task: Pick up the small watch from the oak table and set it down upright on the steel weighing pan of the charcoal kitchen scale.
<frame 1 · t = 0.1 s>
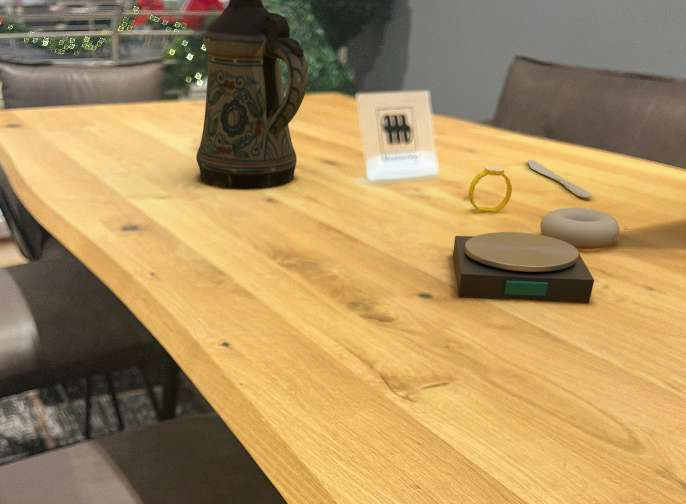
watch: (487, 212, 112), on the table
donut: (576, 242, 101), on the table
butter knife: (554, 179, 129), on the table
scale pan: (520, 250, 87), point 3 cm above the table, slide at 0.0 cm
beer stein: (255, 179, 127), on the table
scale: (516, 278, 88), on the table
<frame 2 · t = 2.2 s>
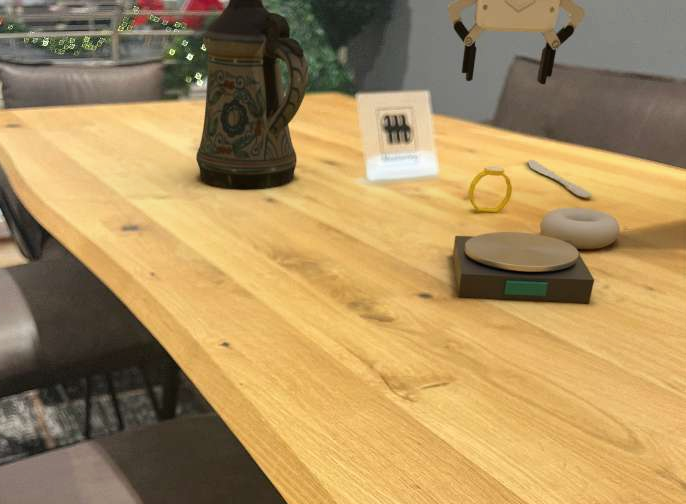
hand: (504, 81, 102), 17 cm above the table, tool pointing down, fingers open, 9 cm apart
nothing on the table moved.
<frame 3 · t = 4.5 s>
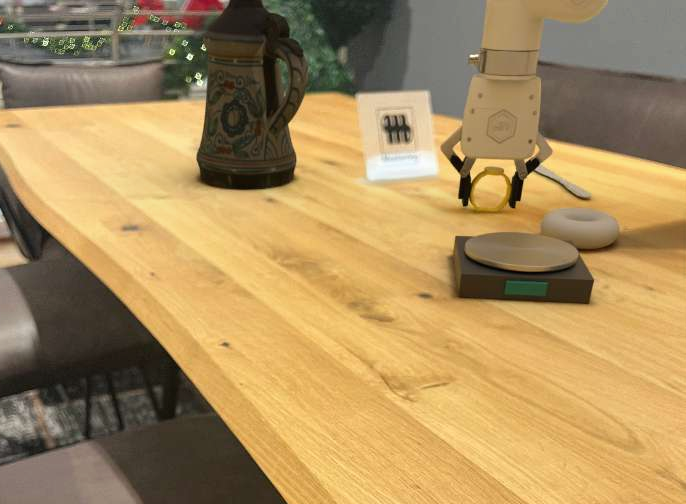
hand: (488, 204, 112), 1 cm above the table, tool pointing down, fingers closed on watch, 6 cm apart
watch: (487, 212, 112), on the table, touching gripper
everything else where it was.
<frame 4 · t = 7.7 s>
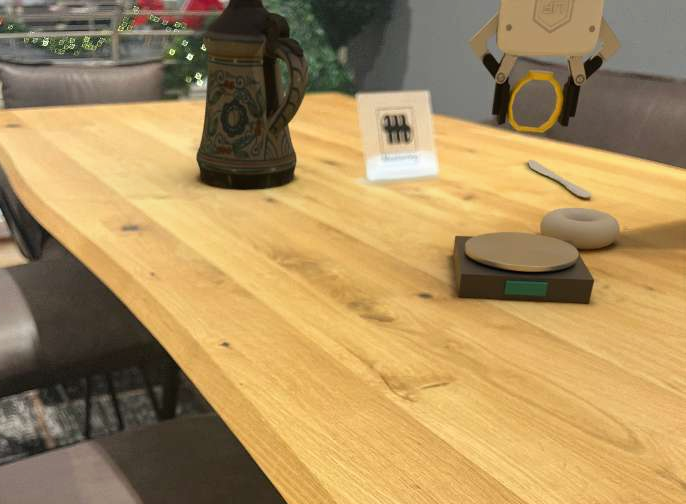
hand: (531, 121, 85), 15 cm above the table, tool pointing down, fingers closed on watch, 6 cm apart
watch: (529, 133, 86), point 14 cm above the table, touching gripper
everything else where it was.
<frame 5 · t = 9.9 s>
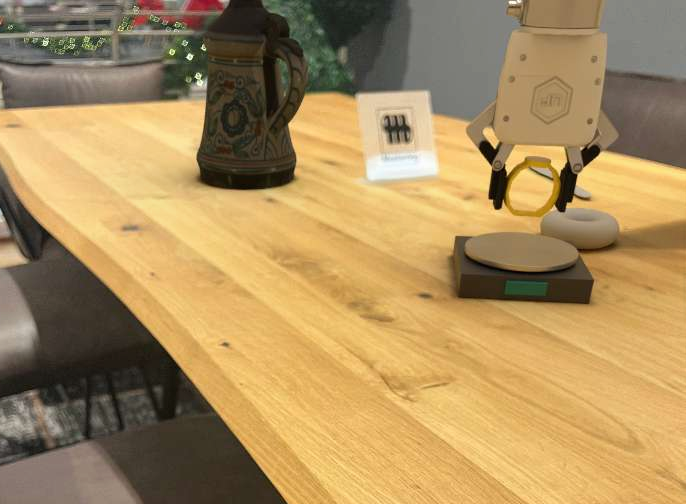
hand: (528, 206, 84), 8 cm above the table, tool pointing down, fingers closed on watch, 6 cm apart
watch: (526, 217, 85), point 7 cm above the table, touching gripper
everything else where it was.
when the fingers open (5 cm above the table, at t = 11.2 s): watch stays where it is, resting on scale pan.
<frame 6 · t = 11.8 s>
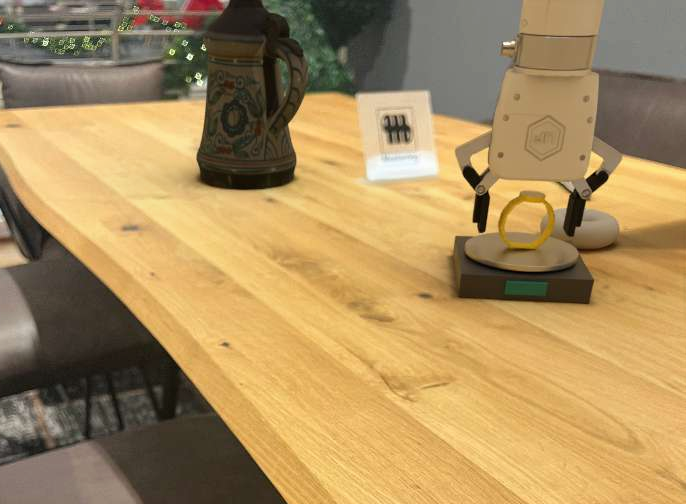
hand: (524, 231, 85), 5 cm above the table, tool pointing down, fingers open, 9 cm apart
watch: (521, 249, 87), point 3 cm above the table, touching scale pan
scale pan: (520, 250, 87), point 3 cm above the table, slide at 0.0 cm, touching scale, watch
everything else where it was.
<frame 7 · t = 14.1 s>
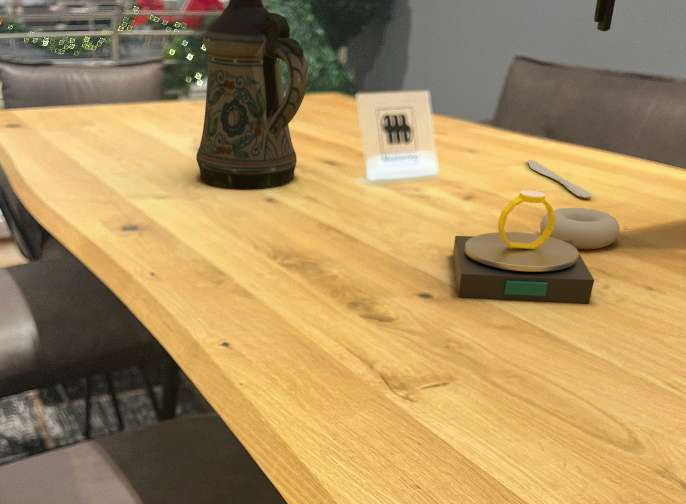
hand: (647, 29, 84), 24 cm above the table, tool pointing down, fingers open, 9 cm apart
nothing on the table moved.
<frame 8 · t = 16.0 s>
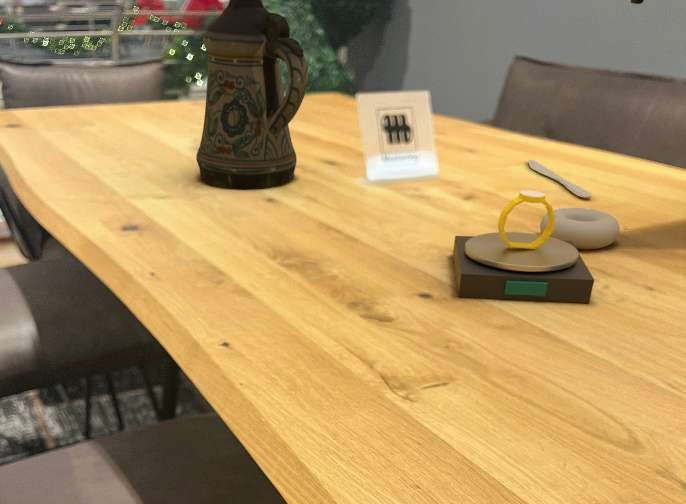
hand: (679, 4, 87), 26 cm above the table, tool pointing down, fingers open, 9 cm apart
nothing on the table moved.
at the end: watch inside the target area on the scale (0.1 cm from its centre), point 3.3 cm above the scale's base; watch tilted 0°; the gripper is holding nothing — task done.
